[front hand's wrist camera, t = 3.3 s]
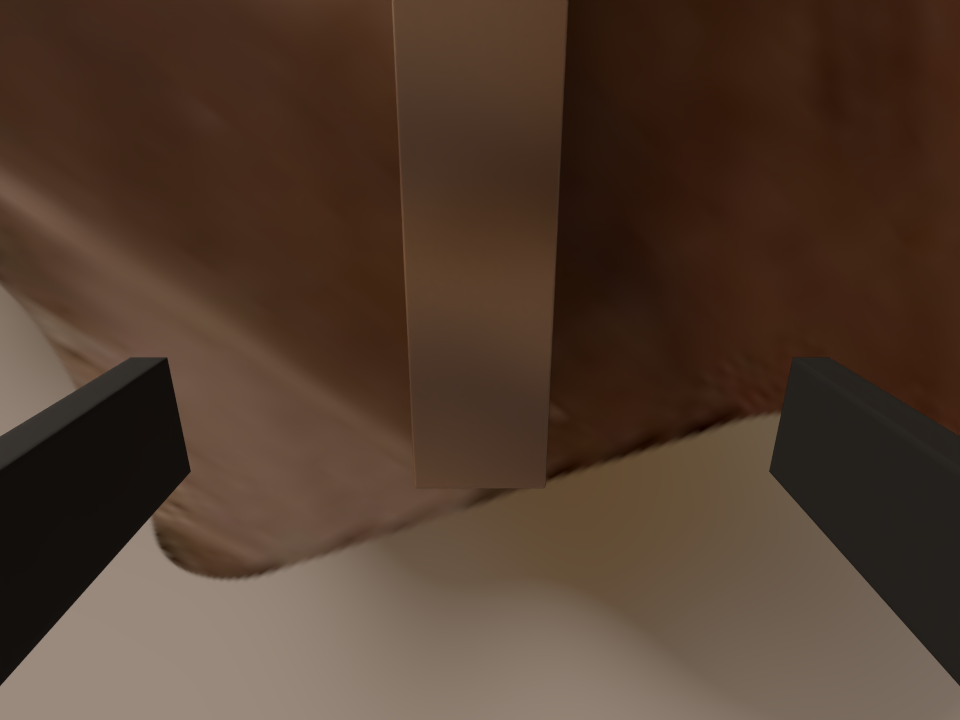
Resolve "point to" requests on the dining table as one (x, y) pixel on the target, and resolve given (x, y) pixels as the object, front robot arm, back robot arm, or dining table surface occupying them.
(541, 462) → the bar
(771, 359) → the dining table surface
